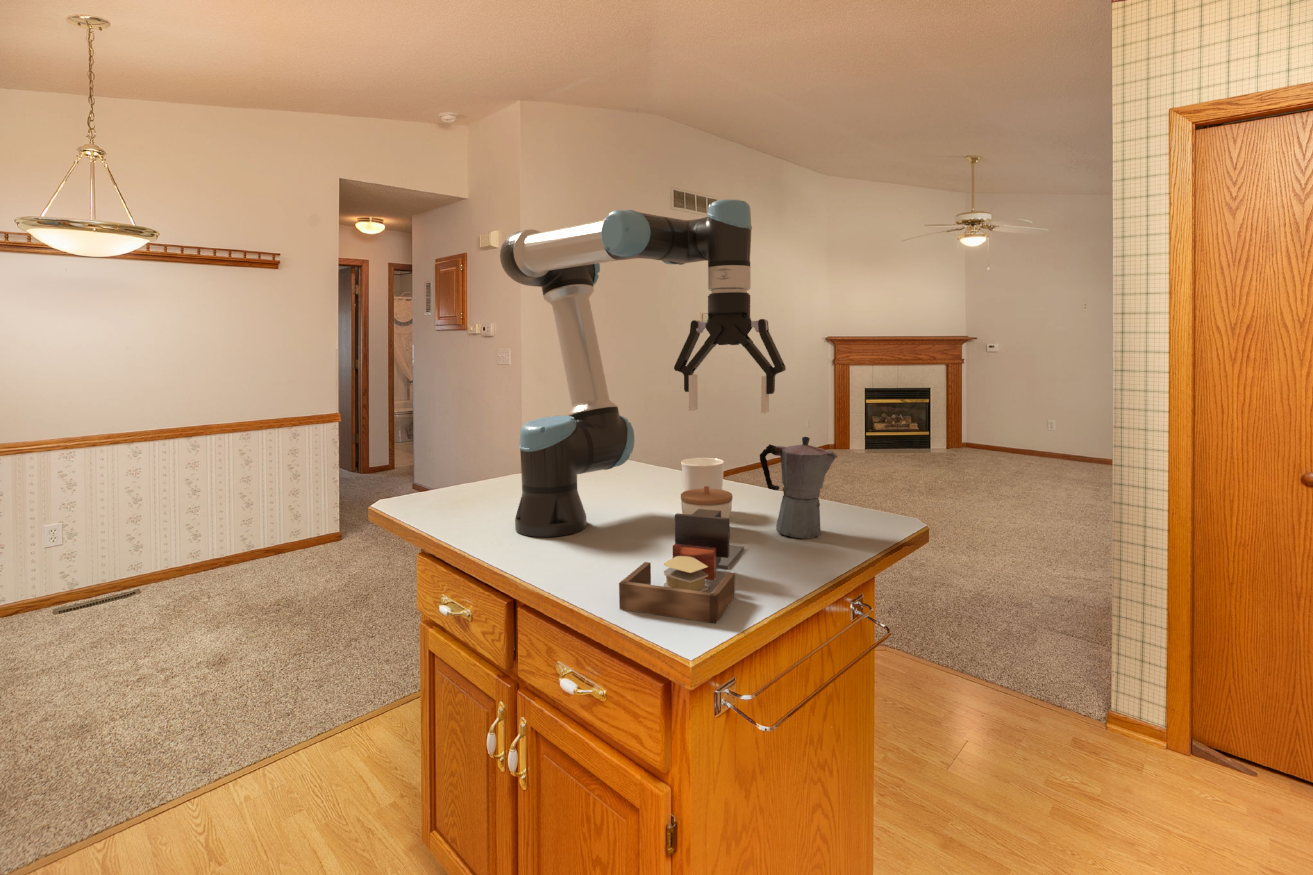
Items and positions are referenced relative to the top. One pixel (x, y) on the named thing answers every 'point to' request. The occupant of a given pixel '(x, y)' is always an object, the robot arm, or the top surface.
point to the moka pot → (799, 486)
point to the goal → (674, 597)
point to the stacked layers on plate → (685, 574)
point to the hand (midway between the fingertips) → (728, 411)
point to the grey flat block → (730, 556)
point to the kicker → (702, 538)
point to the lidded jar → (707, 501)
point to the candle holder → (702, 473)
